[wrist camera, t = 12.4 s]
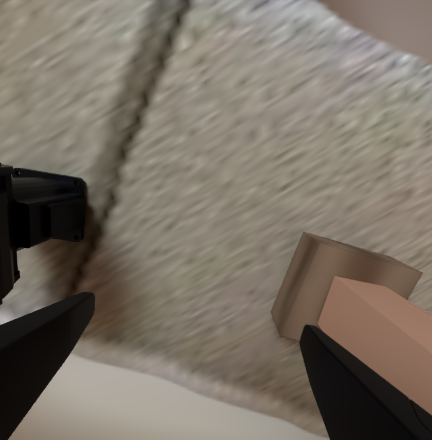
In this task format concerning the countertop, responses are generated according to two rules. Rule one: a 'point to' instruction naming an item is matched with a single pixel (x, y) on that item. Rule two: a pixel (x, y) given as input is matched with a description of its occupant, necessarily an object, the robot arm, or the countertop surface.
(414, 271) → the walnut block
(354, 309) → the column
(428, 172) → the countertop surface
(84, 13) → the countertop surface
